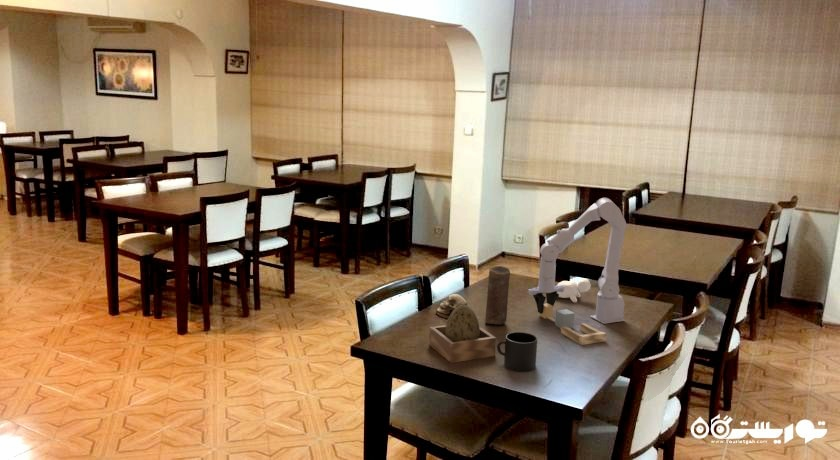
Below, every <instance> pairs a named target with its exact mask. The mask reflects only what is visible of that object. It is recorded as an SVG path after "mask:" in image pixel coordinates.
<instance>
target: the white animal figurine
mask: <svg viewBox="0 0 840 460" xmlns="http://www.w3.org/2000/svg"><path fill="white" fill-rule="evenodd" d="M556 286H563V287H564V292H557V293H558V294H559V297H558V298H562V299H570V300H571V302H573V303H577V302H578V299H577V298H581V294H580V293H585V292H588V291H589V290H590V289H591V287H592V284H591V282H590V280H589V279H586V278H583V279H580V280H579V281H578V282H575V281H574V280H570V281H568V280H562V281H560V282H558V283H557V284H556Z"/></svg>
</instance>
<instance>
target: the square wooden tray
mask: <svg viewBox="0 0 840 460" xmlns="http://www.w3.org/2000/svg"><path fill="white" fill-rule="evenodd" d="M479 327H480V334H479V338H478V339H472V340H465V341H458V342H452V341H451V340H450V339H449V338H447V337H446V335H445V328H446V324H445V325H437V326H430V327H429V342H428V343H429V344H428V345H429V346H430V347H431V348H432V349H433V350H435V351H436V352H437V353H438V354H439V355H441V356H442V357H443V358H444V357H445V358H444V359H446V360H447V361H448V362H450V364H452V363H458V362H464V361H470V360H476V359H477V360H478V359H485V358H491V357H495V356H496V349H497V346H496V345H497V344H496V343H497V337H496V336H494V335H493V334H491V333H490V332H488V331H487V330H485V328H482V326H479Z"/></svg>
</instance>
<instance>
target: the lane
mask: <svg viewBox="0 0 840 460" xmlns="http://www.w3.org/2000/svg"><path fill="white" fill-rule="evenodd" d="M579 331H580V332H582V333H584V334H581V333H579V332H577V331H575V330H573V328H571V329H570V328H568V327H566V326H561V329H560V334H562V335H564V336H565V337H567V338H569V339H570V340H571V341H574V342H576V344H580V345H581V346H584V345H589V344H596V343H597V344H598V343H603V342H606V340H607V339H606V337H607V333H606V332H604V331H600V330H598V329H596V328H594V327H593V326H591V325H589V324H586V323H580V326H579Z"/></svg>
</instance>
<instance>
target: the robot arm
mask: <svg viewBox="0 0 840 460" xmlns="http://www.w3.org/2000/svg"><path fill="white" fill-rule="evenodd" d="M601 218H602V219H603V220H605V221H607V223H608V224H609V225H610V232H609V239H608V244H607V249H606V254H605V255H606V256H605V263H604V268H603V269H602V272H601V276H599V278H598V280H597V287H598V288H599V291H598V292H597V295H596V296H597V297H596V308H595V314H594V315H593V314H592V315H590V316H589V317H590V318H591V319H593V320H595V321H597V322H599V323H601V324H604V325H605V324H611V323H618V322H625V319H624V311H625V300H624V298H623V296H622V295H621V294H619V293H620V286H619V268H620V263H621V262H620V261H621V256H622V253H623V245H624V241H625V234H626V228H627V222H626V219H625V217H624V215H623V213H622V211H621V208H620V207H619V206H617V205H616V204H615V203H614V201H612V200H611V199H610V198H608V197H602V198H599V199H598V200H596V202H594V203H593V204H592V205H590V206H589V207H588V208H587V209H586V210H585V211H584V212H583V213H582V214H581V215H580V216H579V217H578V218H577V219H576V220H575V221H574V222H573V223H572V224H571V225H570V226H568V228H561V229H558V230H557V231H556V234H555V235H554V236H553V237H552V238H551V239H547V241H546V242H545V243H543V244H542V245H541V247H540V249H539V253H540V255H541V257H540V262H539V273H538V285H537V286H536V287H532V288H528V289H527V295H529V296H531V297H532V296H533V298H534V301H535V304H536V308H537V313H539V315H540V314H542V313H543V306H544V304H545V302H546V303H548V304H550V305H552V306H553V307H554V305H555V303H556V301H557V300H558V299H559V298H560V297H559V294H558V293H557V292H564V287H563V286H557V285H555V284H556V267H557V263H556V261H557V259H558V256H559V253H562V252H563V251H564V250H565V249H566V248H567V247H568V246H569V245H570V244H571V243H572V242H574V240H575V235H577V234H578V233H579V232H580V231H581V230H582V229H584V228H585V227H586V226H587V225H589V224H590V223H591V222H595V221H601ZM544 294H545V296H544Z"/></svg>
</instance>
